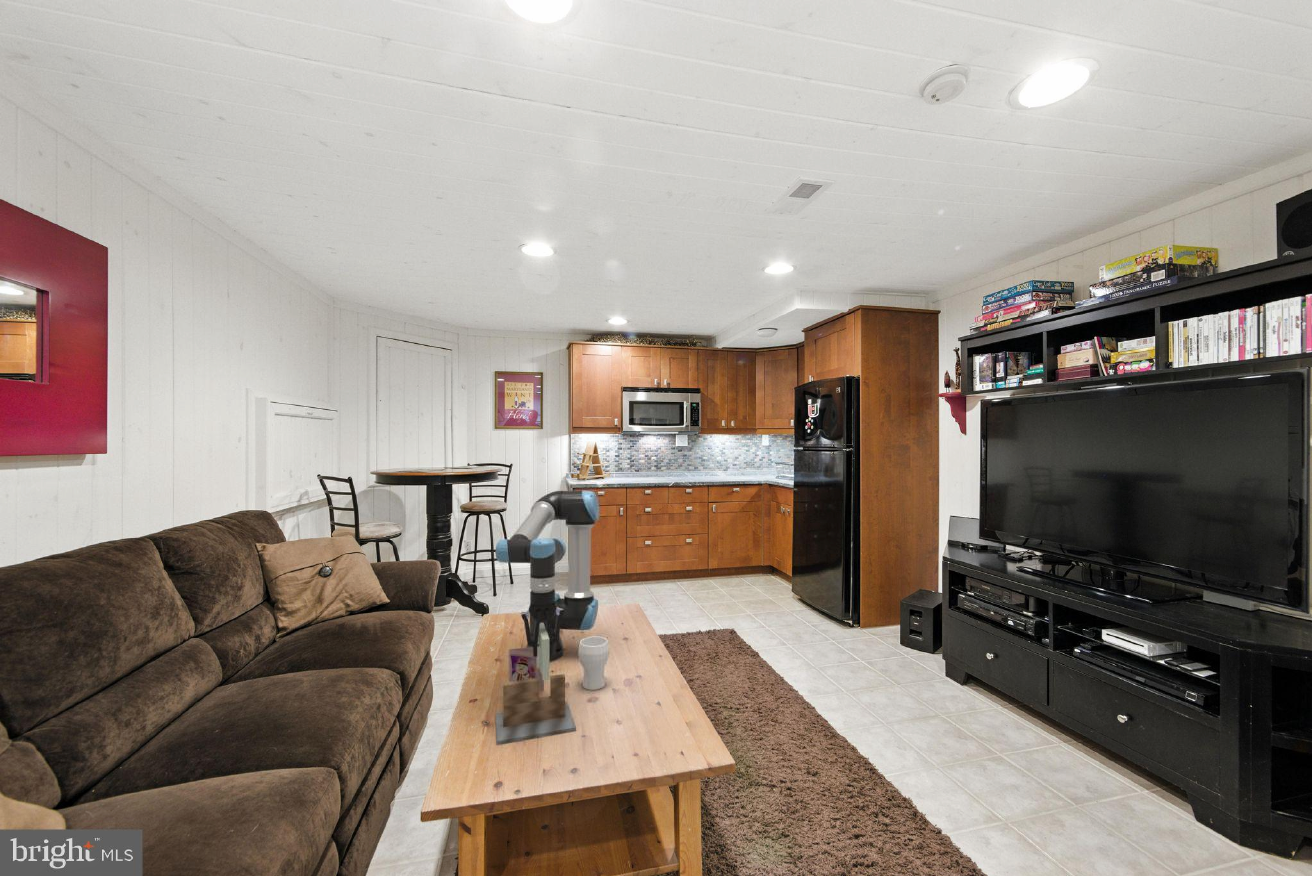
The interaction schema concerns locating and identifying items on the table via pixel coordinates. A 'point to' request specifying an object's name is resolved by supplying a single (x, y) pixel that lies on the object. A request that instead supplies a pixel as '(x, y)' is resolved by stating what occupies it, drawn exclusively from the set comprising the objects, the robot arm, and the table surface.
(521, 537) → the robot arm
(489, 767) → the table surface
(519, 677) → the greeting card
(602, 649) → the cup
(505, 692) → the wood panel stand
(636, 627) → the table surface
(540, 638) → the sage plate
